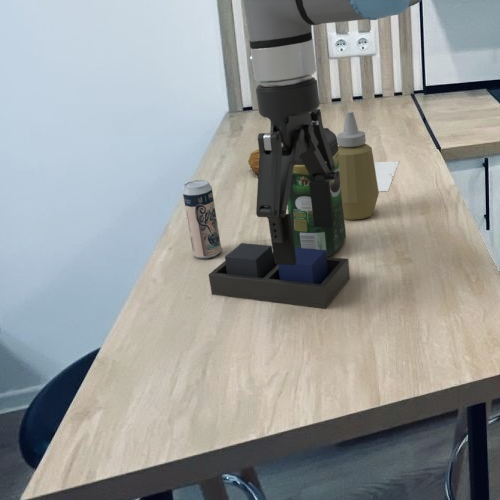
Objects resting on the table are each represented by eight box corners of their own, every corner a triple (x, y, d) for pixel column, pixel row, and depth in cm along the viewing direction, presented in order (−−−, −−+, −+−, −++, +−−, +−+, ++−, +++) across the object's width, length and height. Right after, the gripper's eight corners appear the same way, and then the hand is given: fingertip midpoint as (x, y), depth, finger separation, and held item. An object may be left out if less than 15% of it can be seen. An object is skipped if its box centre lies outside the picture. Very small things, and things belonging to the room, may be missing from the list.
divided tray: (242, 267, 100) (239, 249, 99) (350, 278, 92) (348, 258, 91) (211, 294, 93) (208, 274, 92) (325, 309, 85) (323, 287, 84)
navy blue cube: (328, 279, 91) (326, 249, 90) (315, 295, 87) (312, 264, 86) (296, 276, 94) (293, 247, 92) (281, 291, 90) (277, 261, 88)
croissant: (254, 162, 156) (252, 141, 155) (282, 160, 155) (280, 139, 153) (243, 179, 144) (240, 157, 142) (274, 177, 143) (271, 154, 141)
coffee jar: (305, 235, 109) (294, 124, 102) (351, 237, 106) (343, 123, 99) (283, 258, 101) (270, 140, 94) (333, 262, 98) (322, 139, 91)
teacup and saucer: (359, 168, 141) (358, 149, 139) (353, 179, 134) (352, 160, 132) (319, 169, 143) (318, 151, 142) (311, 180, 137) (309, 161, 135)
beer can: (212, 261, 104) (200, 189, 99) (187, 258, 106) (175, 188, 102) (227, 249, 108) (217, 179, 103) (203, 247, 110) (192, 178, 105)
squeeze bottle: (342, 206, 120) (334, 107, 113) (385, 207, 116) (380, 106, 110) (327, 222, 114) (317, 118, 107) (372, 224, 110) (366, 117, 103)
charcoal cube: (275, 273, 95) (271, 245, 93) (259, 289, 91) (255, 259, 90) (245, 270, 98) (241, 242, 96) (228, 285, 94) (224, 256, 92)
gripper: (298, 65, 91) (315, 211, 99) (207, 103, 72) (237, 280, 80) (349, 61, 88) (362, 212, 95) (268, 99, 68) (293, 285, 76)
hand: (306, 244), depth 88 cm, fingers open, 12 cm apart
